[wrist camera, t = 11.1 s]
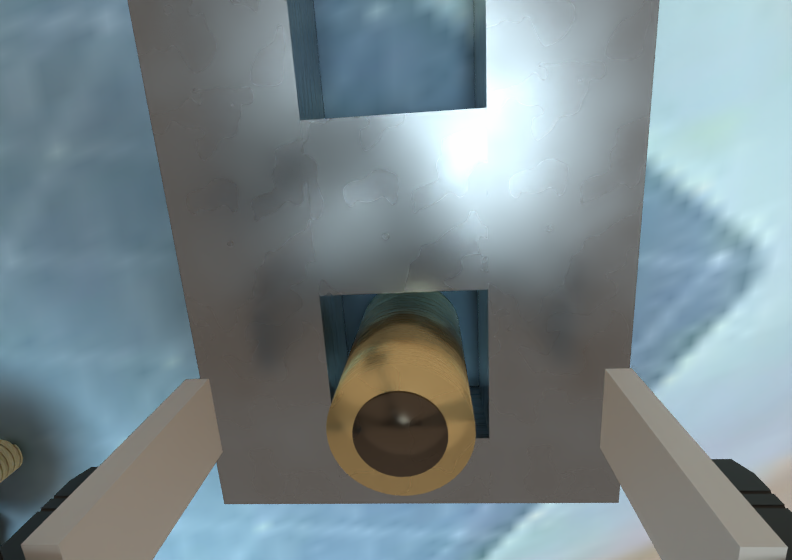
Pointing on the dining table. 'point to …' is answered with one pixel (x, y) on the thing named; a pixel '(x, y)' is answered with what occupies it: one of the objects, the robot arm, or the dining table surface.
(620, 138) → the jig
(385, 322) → the bushing
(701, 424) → the dining table surface
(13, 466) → the light bulb
